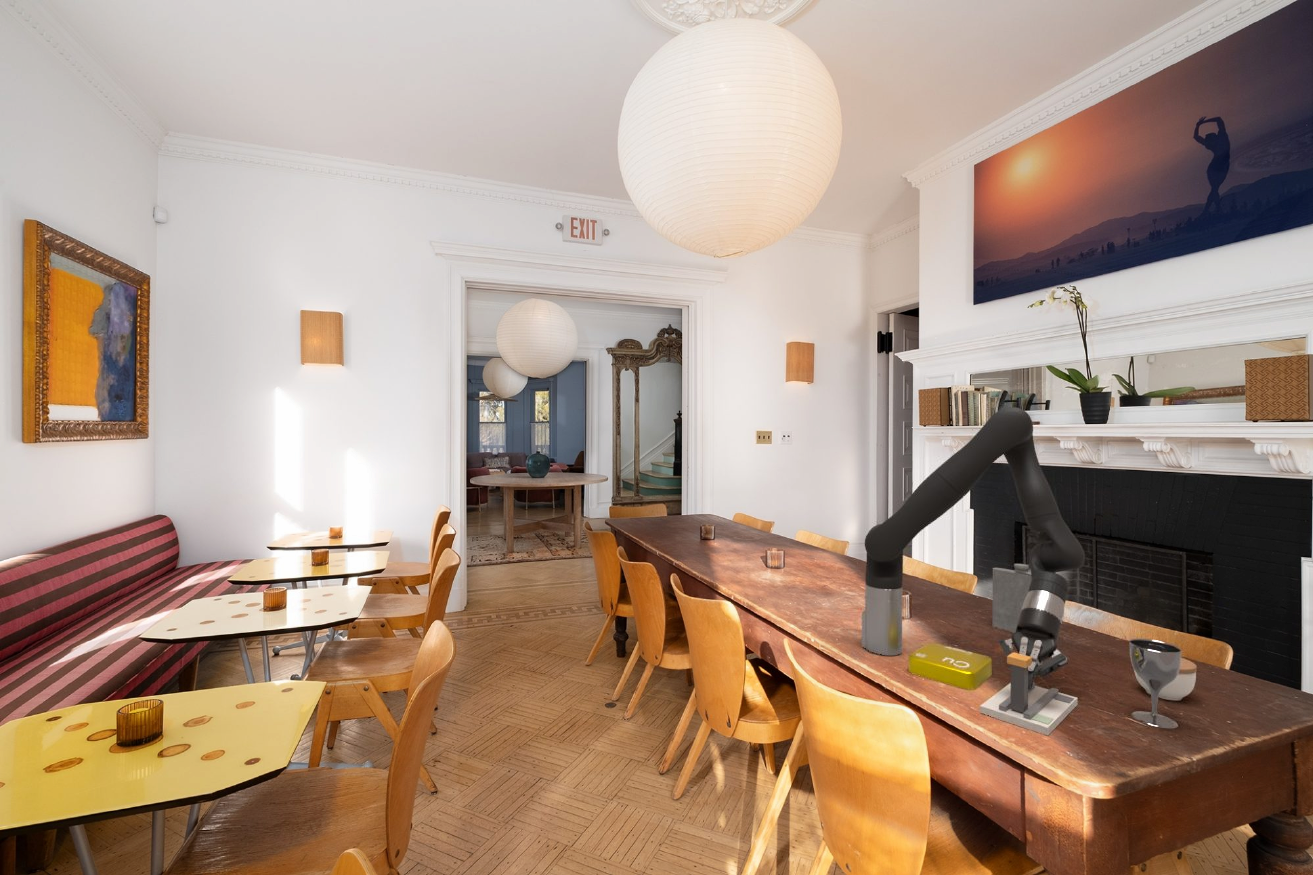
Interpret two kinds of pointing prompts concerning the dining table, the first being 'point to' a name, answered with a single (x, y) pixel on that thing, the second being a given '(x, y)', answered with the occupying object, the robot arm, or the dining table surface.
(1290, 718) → the dining table surface
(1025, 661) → the lever
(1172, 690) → the lidded jar
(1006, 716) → the switch panel
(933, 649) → the element tile
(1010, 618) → the hip flask
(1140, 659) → the wine glass
